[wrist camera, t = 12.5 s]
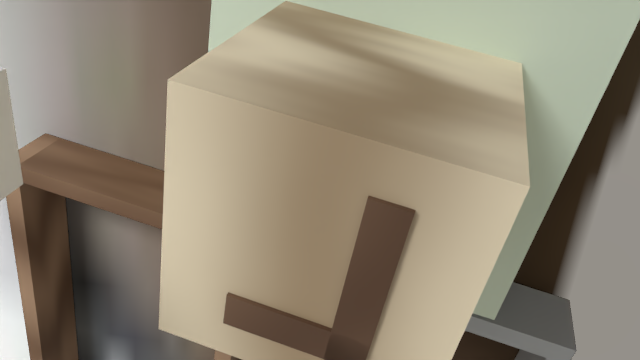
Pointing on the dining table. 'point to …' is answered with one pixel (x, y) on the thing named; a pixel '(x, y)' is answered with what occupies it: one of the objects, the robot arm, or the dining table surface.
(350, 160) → the letter cube
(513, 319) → the tray grey
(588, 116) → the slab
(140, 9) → the dining table surface
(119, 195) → the tray walnut
